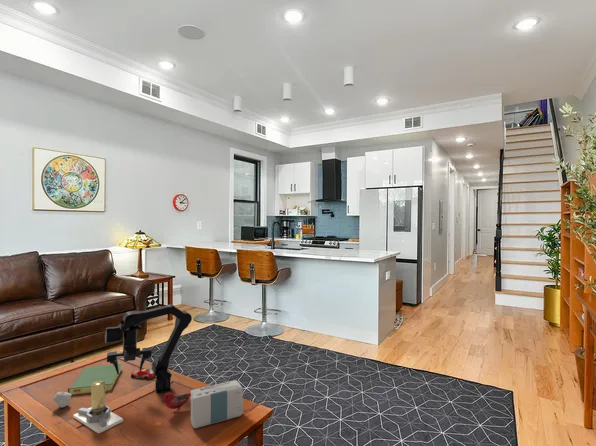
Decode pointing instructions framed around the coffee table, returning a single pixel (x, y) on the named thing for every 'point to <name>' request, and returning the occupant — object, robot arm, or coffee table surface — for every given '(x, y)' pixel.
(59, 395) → the grey rounded lump
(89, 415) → the coupling stand
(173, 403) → the decorative bird figurine
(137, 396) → the coffee table surface
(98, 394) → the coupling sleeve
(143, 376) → the race car
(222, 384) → the stereo radio cassette player
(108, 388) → the hardcover book
